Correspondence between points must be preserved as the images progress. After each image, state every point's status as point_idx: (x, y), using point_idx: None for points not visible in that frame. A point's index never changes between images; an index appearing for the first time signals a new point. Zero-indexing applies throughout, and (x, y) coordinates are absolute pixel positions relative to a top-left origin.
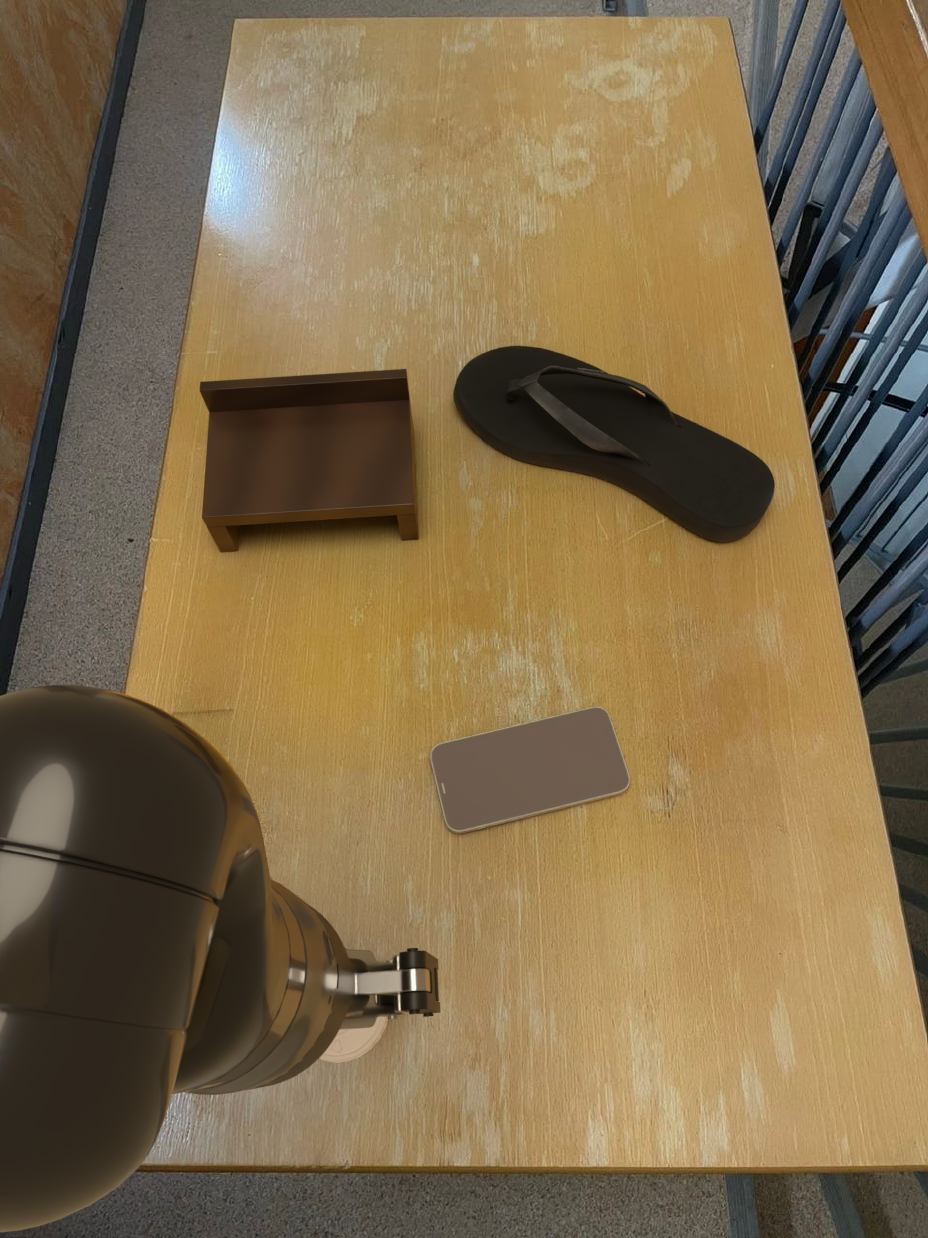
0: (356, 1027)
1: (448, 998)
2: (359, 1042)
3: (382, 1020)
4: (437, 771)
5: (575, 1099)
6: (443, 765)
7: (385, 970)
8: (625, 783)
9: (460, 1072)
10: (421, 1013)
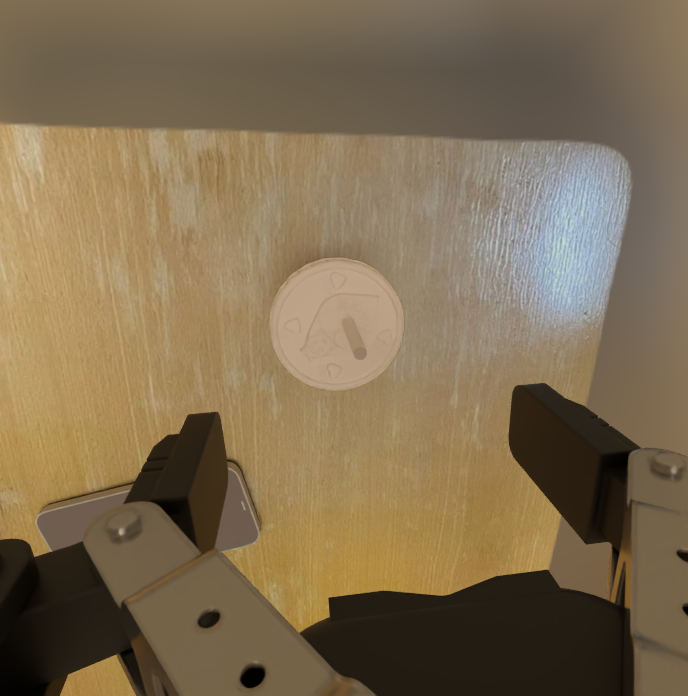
0: (161, 661)
1: (224, 301)
2: (306, 286)
3: (275, 313)
4: (250, 520)
5: (62, 194)
6: (244, 526)
7: (135, 686)
8: (40, 519)
9: (204, 225)
10: (2, 571)
